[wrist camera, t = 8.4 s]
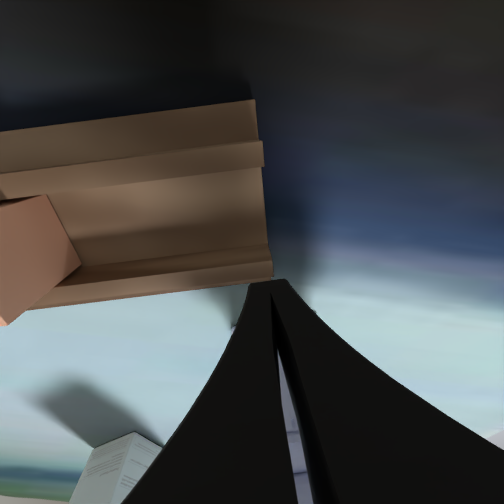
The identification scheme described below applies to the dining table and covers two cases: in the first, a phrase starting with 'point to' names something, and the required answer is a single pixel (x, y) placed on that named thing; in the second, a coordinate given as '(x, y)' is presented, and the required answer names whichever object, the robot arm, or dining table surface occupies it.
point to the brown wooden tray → (148, 199)
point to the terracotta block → (31, 254)
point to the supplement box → (114, 470)
